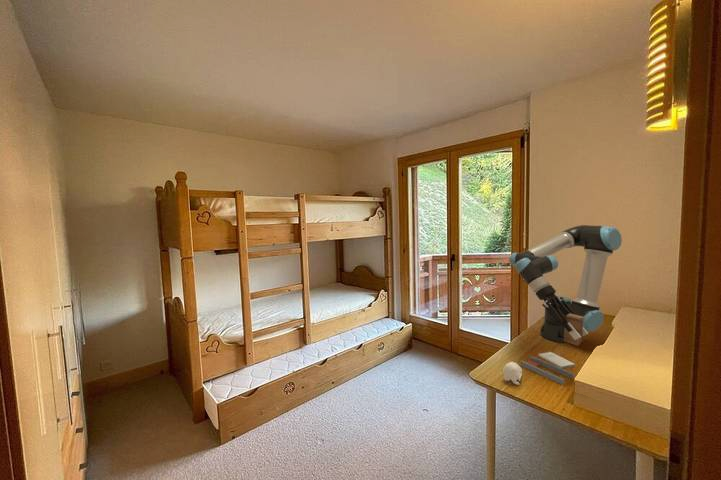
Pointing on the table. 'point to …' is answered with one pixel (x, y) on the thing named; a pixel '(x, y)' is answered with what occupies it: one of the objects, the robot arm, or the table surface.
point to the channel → (545, 373)
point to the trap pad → (533, 363)
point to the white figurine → (512, 372)
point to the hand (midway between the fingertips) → (581, 336)
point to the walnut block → (578, 326)
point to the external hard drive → (556, 360)
